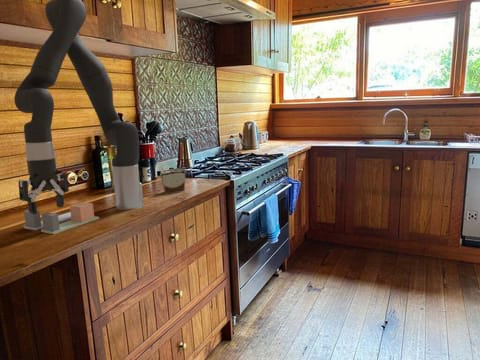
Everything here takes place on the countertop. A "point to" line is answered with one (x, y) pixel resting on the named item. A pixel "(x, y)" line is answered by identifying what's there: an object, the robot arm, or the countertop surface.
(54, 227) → the block strip
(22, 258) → the countertop surface
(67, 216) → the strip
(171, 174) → the food container
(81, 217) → the block
